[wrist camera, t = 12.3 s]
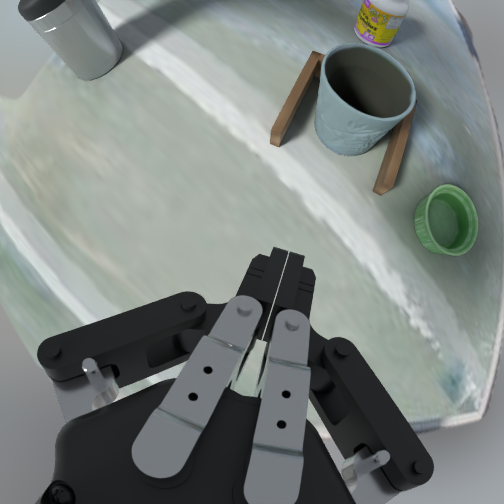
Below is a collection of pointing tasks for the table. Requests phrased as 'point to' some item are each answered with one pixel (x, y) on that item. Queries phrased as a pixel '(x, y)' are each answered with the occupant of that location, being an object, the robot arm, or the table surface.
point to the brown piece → (395, 142)
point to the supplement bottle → (380, 21)
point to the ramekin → (446, 221)
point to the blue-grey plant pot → (360, 97)
